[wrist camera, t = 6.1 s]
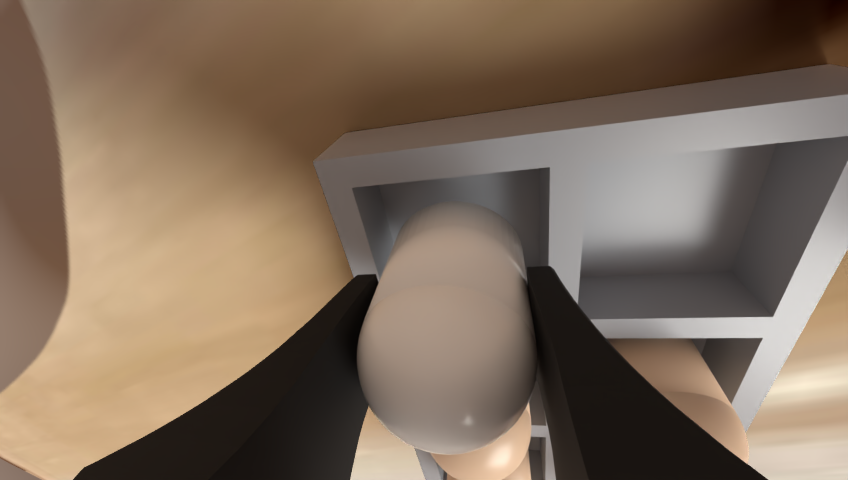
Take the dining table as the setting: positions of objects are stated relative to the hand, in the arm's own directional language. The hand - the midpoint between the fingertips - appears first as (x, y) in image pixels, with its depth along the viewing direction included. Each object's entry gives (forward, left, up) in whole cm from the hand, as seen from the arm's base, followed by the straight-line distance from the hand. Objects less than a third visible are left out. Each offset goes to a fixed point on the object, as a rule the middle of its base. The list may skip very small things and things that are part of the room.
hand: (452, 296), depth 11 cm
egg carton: (-3, +7, -5) cm, 9 cm away
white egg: (0, 0, -2) cm, 2 cm away
